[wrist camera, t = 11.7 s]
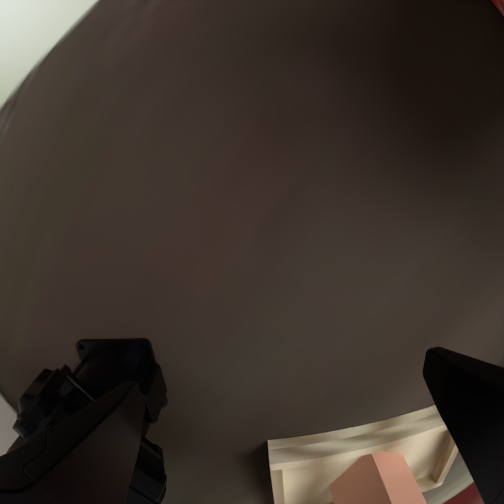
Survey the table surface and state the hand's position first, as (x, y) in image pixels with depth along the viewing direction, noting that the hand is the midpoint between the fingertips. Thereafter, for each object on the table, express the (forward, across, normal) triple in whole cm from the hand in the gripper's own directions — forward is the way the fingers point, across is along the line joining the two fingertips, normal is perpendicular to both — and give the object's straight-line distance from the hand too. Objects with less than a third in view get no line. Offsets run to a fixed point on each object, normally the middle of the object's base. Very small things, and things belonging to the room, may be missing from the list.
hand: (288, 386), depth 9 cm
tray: (+13, -9, +23) cm, 28 cm away
